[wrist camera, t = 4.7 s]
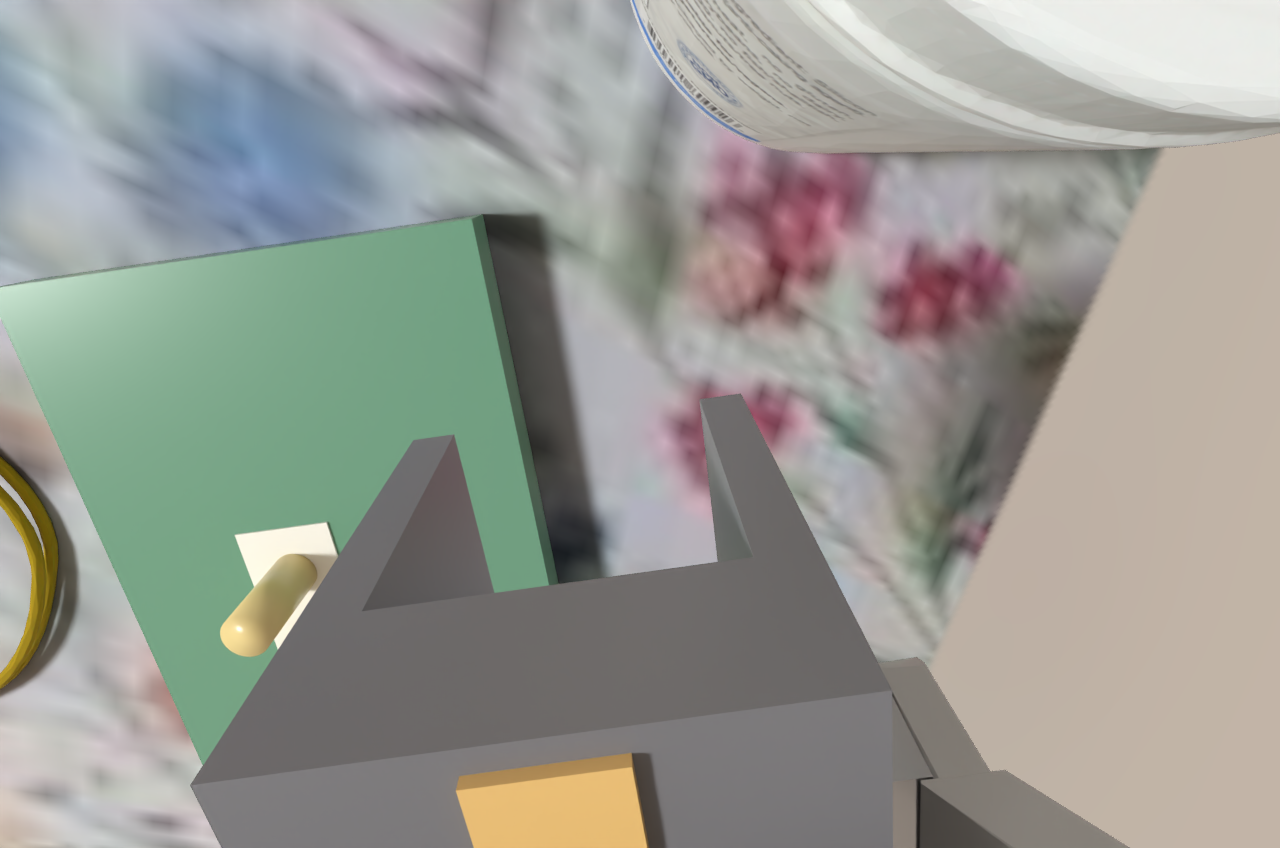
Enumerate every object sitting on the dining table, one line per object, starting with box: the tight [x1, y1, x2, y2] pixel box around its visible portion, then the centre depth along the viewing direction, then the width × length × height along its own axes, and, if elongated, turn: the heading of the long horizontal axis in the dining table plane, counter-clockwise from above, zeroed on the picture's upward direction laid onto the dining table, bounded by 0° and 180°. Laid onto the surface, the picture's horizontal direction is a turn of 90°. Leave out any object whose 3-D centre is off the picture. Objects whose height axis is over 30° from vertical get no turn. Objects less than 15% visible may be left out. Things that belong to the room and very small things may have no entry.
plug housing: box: [190, 394, 893, 848], centre depth 8 cm, size 7×4×5 cm, turn 8°
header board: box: [0, 214, 559, 765], centre depth 20 cm, size 17×12×4 cm
